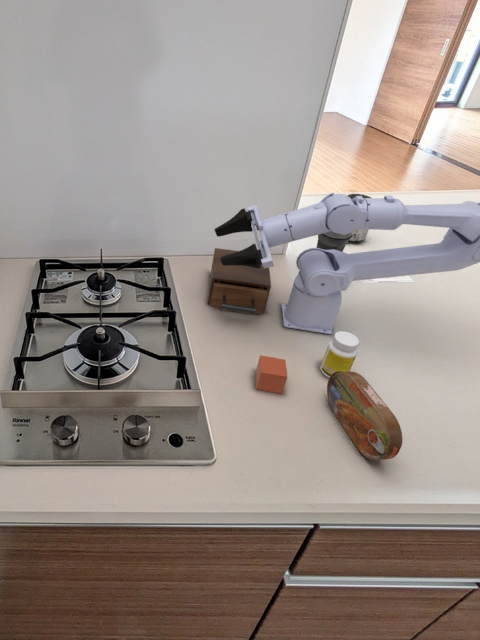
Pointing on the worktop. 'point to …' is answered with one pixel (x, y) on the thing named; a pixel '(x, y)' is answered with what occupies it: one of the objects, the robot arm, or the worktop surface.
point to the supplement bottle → (340, 353)
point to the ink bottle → (358, 234)
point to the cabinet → (237, 274)
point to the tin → (364, 416)
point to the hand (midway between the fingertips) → (218, 246)
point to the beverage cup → (333, 241)
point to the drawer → (239, 297)
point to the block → (271, 374)
